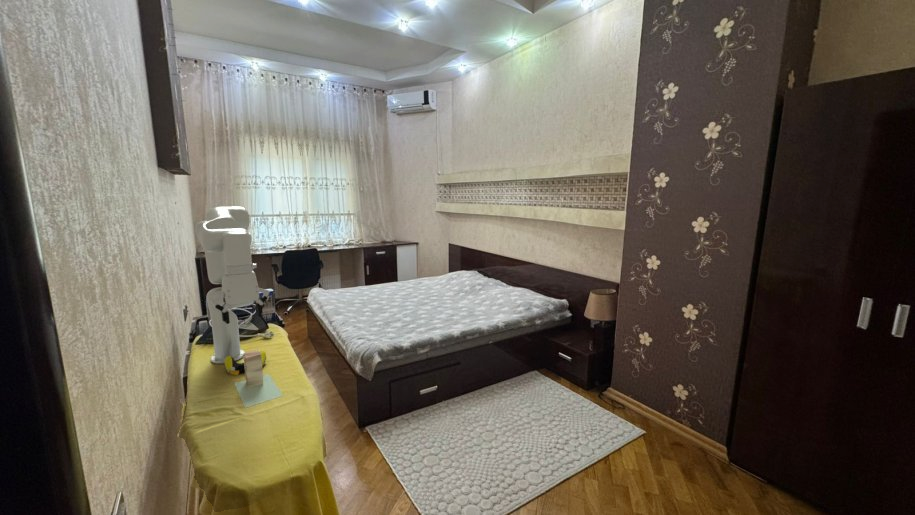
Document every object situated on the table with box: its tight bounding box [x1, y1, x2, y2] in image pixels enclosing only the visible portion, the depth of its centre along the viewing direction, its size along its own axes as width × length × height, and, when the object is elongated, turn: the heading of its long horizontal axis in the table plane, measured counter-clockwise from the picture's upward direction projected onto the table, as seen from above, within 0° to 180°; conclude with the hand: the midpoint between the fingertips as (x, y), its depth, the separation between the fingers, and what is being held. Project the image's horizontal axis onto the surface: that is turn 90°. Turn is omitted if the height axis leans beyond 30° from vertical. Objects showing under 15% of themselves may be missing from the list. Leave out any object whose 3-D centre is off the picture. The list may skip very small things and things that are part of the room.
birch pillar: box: [243, 349, 264, 388], centre depth 139 cm, size 5×5×12 cm
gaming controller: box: [224, 350, 267, 376], centre depth 151 cm, size 15×6×10 cm
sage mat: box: [234, 373, 283, 409], centre depth 136 cm, size 20×12×1 cm, turn 40°
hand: (243, 319), depth 123 cm, fingers open, 9 cm apart
